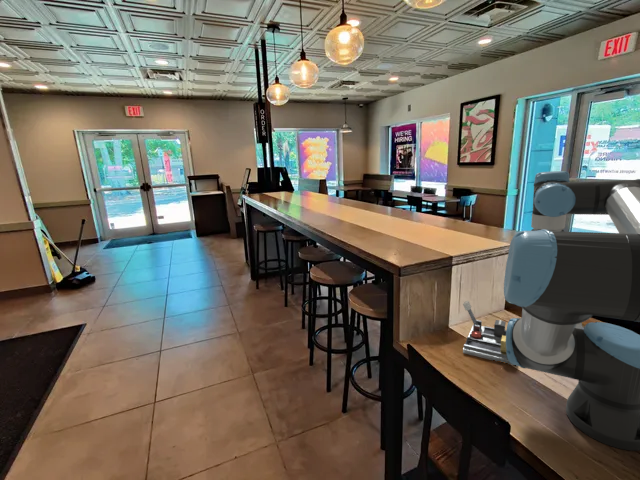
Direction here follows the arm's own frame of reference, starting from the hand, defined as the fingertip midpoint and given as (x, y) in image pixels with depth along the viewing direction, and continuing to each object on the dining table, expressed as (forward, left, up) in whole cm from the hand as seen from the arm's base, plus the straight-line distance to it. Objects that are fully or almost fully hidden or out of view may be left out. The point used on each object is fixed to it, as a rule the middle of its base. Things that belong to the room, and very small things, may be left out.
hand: (541, 307), depth 92 cm
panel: (+5, +13, -19) cm, 23 cm away
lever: (+10, +18, -16) cm, 26 cm away
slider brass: (0, +8, -17) cm, 19 cm away
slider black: (+10, +11, -17) cm, 22 cm away
